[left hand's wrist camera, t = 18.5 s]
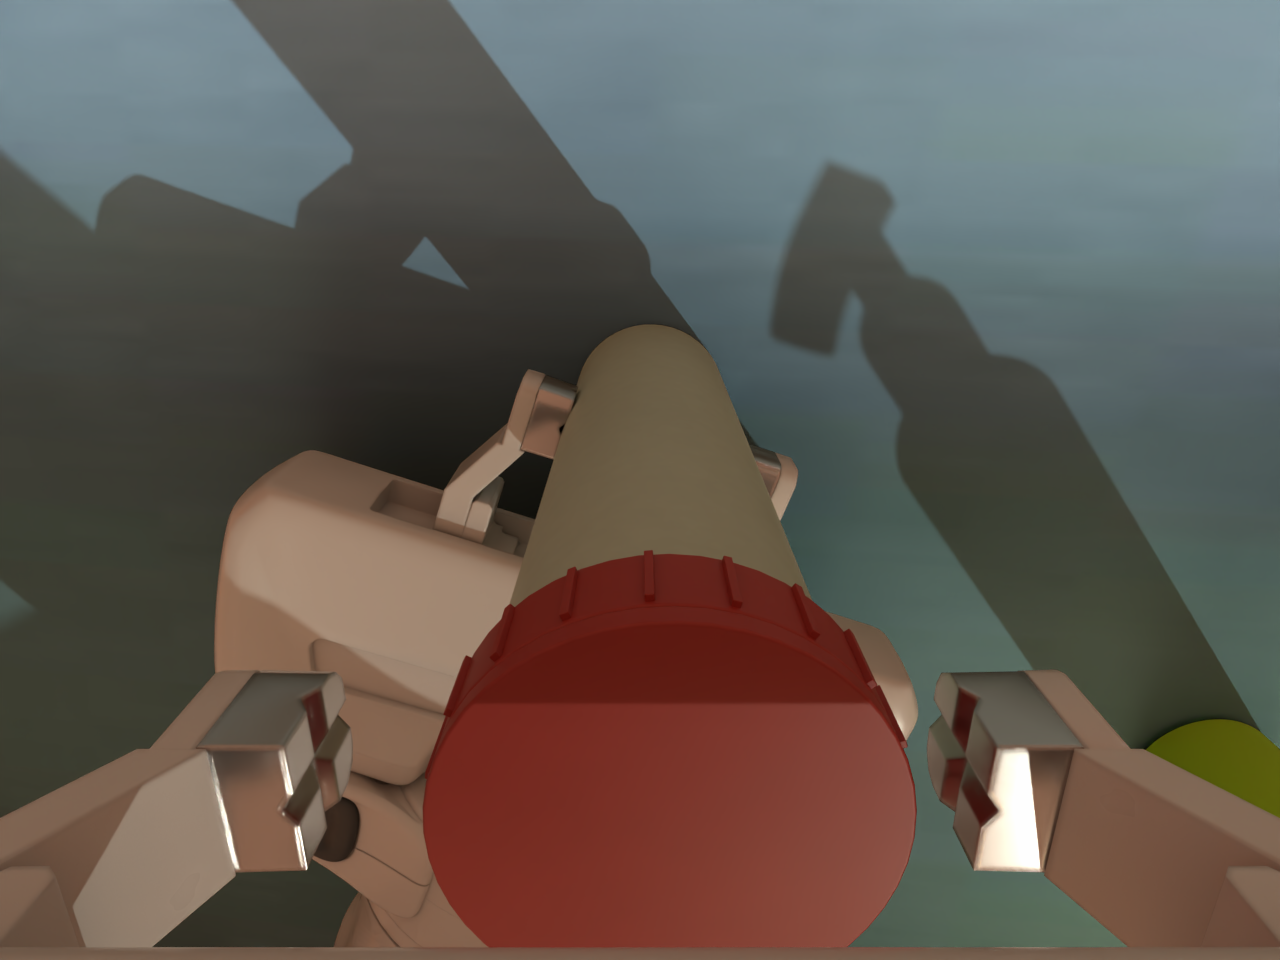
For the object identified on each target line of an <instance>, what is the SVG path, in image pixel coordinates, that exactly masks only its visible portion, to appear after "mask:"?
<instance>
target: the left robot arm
mask: <svg viewBox="0 0 1280 960" xmlns="http://www.w3.org/2000/svg"><path fill="white" fill-rule="evenodd" d="M345 701H346V696H345V690H344V685H343V680H342V677H341V676H340V675H338V674H337V673H336V672H327V671H280V670H262V671H259V670H224V671H221V672H217V673H215V674H214V675H213V676H212V677H211V679H210V680H209V681H208V682H207V683H206V684H205V685H204V687H203V688H202V689H201V690H200V691H199V692H198V693H197V695H196V696H195V697H194V698H193V699H192V700H191V702H190V703H189V704H188V705H187V706H186V707H185V708H184V710H183V711H182V712H181V713H180V714H179V715H178V716H177V718H176V719H175V720H174V721H173V722H172V723H171V725H170V726H169V727H168V728H167V729H166V730H165V731H164V733H163V734H162V735H161V736H160V737H159V738H158V739H157V741H156V742H155V743H154V744H153V745H152V746H151V748H150V749H136V750H134V751H132V752H130V753H128V754H126V755H124V756H122V757H120V758H118V759H116V760H114V761H112V762H110V763H108V764H106V765H104V766H102V767H100V768H98V769H96V770H94V771H92V772H90V773H88V774H86V775H84V776H82V777H80V778H78V779H76V780H74V781H72V782H70V783H68V784H67V785H65V786H63V787H61V788H59V789H57V790H55V791H53V792H51V793H49V794H47V795H45V796H43V797H41V798H39V799H37V800H35V801H33V802H31V803H29V804H27V805H25V806H23V807H21V808H19V809H17V810H15V811H13V812H11V813H9V814H7V815H5V816H3V817H1V818H0V960H1280V818H1279V817H1277V816H1275V815H1273V814H1271V813H1269V812H1267V811H1265V810H1263V809H1261V808H1259V807H1257V806H1255V805H1253V804H1251V803H1249V802H1247V801H1245V800H1243V799H1241V798H1239V797H1237V796H1235V795H1233V794H1231V793H1229V792H1227V791H1225V790H1223V789H1221V788H1219V787H1217V786H1215V785H1213V784H1211V783H1209V782H1207V781H1205V780H1203V779H1201V778H1199V777H1197V776H1196V775H1194V774H1192V773H1190V772H1188V771H1186V770H1184V769H1182V768H1180V767H1178V766H1176V765H1174V764H1172V763H1170V762H1168V761H1166V760H1164V759H1162V758H1160V757H1158V756H1156V755H1154V754H1152V753H1150V752H1148V751H1146V750H1144V749H1130V748H1129V746H1128V745H1127V744H1126V743H1125V742H1124V741H1123V740H1122V738H1121V737H1120V736H1119V735H1118V734H1117V733H1116V731H1115V730H1114V729H1113V728H1112V727H1111V726H1110V725H1109V723H1108V722H1107V721H1106V720H1105V719H1104V718H1103V717H1102V715H1101V714H1100V713H1099V712H1098V711H1097V710H1096V708H1095V707H1094V706H1093V705H1092V704H1091V703H1090V702H1089V700H1088V699H1087V698H1086V697H1085V696H1084V695H1083V694H1082V692H1081V691H1080V690H1079V689H1078V688H1077V687H1076V685H1075V684H1074V683H1073V682H1072V681H1071V680H1070V679H1069V677H1068V676H1067V675H1066V674H1065V673H1063V672H1060V671H1058V670H1056V669H1054V670H1025V671H1015V672H955V673H941V675H940V677H939V679H938V681H937V683H936V689H935V695H934V701H935V702H936V704H937V706H938V708H939V710H940V711H941V713H942V715H941V716H940V717H939V718H938V719H937V720H936V721H935V722H934V723H933V724H932V725H931V726H930V727H929V735H928V743H927V757H928V769H929V773H930V777H931V781H932V784H933V787H934V789H935V791H936V794H937V796H938V798H939V800H940V801H941V802H942V803H943V804H945V805H946V806H948V807H949V808H950V809H952V810H953V811H955V818H954V824H953V829H954V831H955V833H956V835H957V837H958V839H959V841H960V843H961V845H962V847H963V849H964V852H965V854H966V856H967V858H968V860H969V862H970V864H971V866H972V868H973V870H983V871H1018V872H1045V874H1044V876H1045V877H1047V878H1048V879H1049V880H1050V881H1051V882H1052V883H1054V884H1055V885H1056V886H1057V887H1058V888H1059V889H1061V890H1062V891H1063V892H1064V893H1065V894H1067V895H1068V896H1069V897H1070V898H1071V899H1072V900H1074V901H1075V902H1076V903H1077V904H1078V905H1079V906H1081V907H1082V908H1083V909H1084V910H1085V911H1087V912H1088V913H1089V914H1090V915H1091V916H1092V917H1094V918H1095V919H1096V920H1097V921H1098V922H1100V923H1101V924H1102V925H1103V926H1104V927H1105V928H1107V929H1108V930H1109V931H1110V932H1111V933H1112V934H1114V935H1115V936H1116V937H1117V938H1118V939H1120V940H1121V941H1122V942H1123V943H1124V944H1125V945H1127V946H1128V947H152V946H154V945H155V944H156V943H157V942H158V941H160V940H161V939H162V938H163V937H164V936H165V935H167V934H168V933H169V932H170V931H171V930H173V929H174V928H175V927H176V926H177V925H178V924H180V923H181V922H182V921H183V920H184V919H186V918H187V917H188V916H189V915H190V914H191V913H193V912H194V911H195V910H196V909H197V908H198V907H200V906H201V905H202V904H203V903H204V902H206V901H207V900H208V899H209V898H210V897H211V896H213V895H214V894H215V893H216V892H217V891H219V890H220V889H221V888H222V887H223V886H224V885H226V884H227V883H228V882H229V881H230V880H232V879H233V878H234V877H235V875H236V874H235V872H261V871H295V870H307V868H308V866H309V864H310V862H311V860H312V858H313V856H314V854H315V852H316V850H317V848H318V846H319V843H320V841H321V839H322V837H323V835H324V833H325V831H326V829H327V824H326V818H325V811H327V810H328V809H330V808H331V807H332V806H334V805H335V804H337V803H338V802H339V801H340V800H341V798H342V796H343V793H344V791H345V789H346V787H347V785H348V781H349V776H350V772H351V767H352V762H353V740H352V733H351V727H350V726H349V725H348V724H347V723H346V722H345V721H344V720H343V719H342V718H341V717H340V716H339V715H338V713H339V711H340V710H341V708H342V706H343V704H344V702H345Z"/></svg>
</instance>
